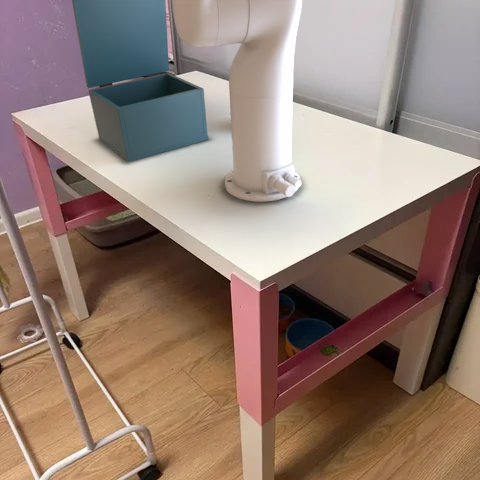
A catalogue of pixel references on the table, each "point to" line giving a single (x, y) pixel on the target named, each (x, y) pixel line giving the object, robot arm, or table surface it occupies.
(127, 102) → the chest
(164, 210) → the table surface
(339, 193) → the table surface
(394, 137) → the table surface
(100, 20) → the lid
